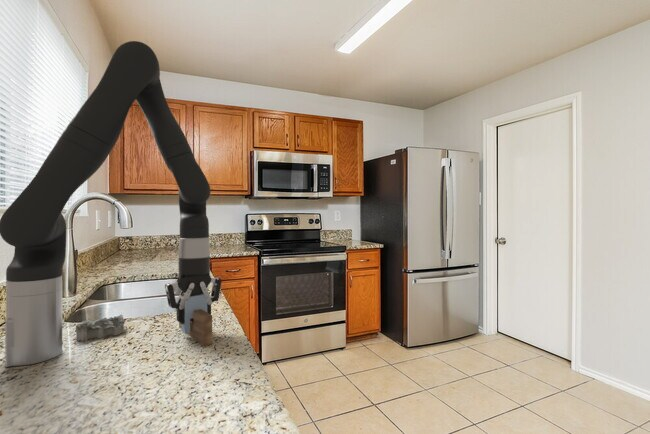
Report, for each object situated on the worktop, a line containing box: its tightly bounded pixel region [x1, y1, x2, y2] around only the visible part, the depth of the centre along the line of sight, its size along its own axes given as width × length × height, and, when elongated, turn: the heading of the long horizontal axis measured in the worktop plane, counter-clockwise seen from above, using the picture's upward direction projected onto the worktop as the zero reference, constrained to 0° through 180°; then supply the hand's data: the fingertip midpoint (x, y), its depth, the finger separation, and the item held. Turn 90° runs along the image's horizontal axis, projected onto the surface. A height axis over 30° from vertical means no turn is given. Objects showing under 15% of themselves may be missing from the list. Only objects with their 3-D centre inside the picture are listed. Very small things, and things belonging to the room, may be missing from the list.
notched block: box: [180, 293, 207, 335], centre depth 86 cm, size 6×3×9 cm, turn 131°
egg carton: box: [74, 314, 125, 342], centre depth 88 cm, size 11×8×4 cm
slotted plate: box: [178, 309, 213, 348], centre depth 86 cm, size 2×18×7 cm, turn 41°
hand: (194, 320), depth 86 cm, fingers closed on notched block, 5 cm apart
